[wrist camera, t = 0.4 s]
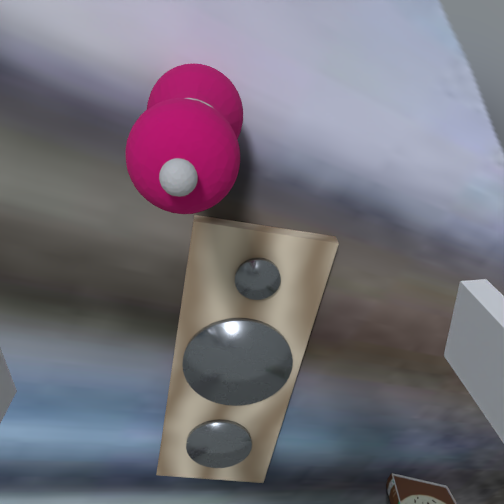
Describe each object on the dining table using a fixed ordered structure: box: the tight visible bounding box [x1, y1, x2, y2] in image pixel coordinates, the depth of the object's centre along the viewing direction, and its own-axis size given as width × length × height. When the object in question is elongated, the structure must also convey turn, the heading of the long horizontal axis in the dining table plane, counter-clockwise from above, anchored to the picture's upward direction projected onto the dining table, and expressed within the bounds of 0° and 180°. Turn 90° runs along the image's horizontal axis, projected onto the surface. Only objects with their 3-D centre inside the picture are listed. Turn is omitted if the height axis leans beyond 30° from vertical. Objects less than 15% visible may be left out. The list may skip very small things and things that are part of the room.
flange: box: [186, 419, 252, 468], centre depth 55 cm, size 8×8×1 cm
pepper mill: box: [126, 64, 243, 214], centre depth 29 cm, size 7×7×20 cm
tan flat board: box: [157, 215, 339, 483], centre depth 51 cm, size 14×36×2 cm, turn 169°
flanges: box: [182, 258, 293, 406], centre depth 47 cm, size 12×19×1 cm, turn 169°
